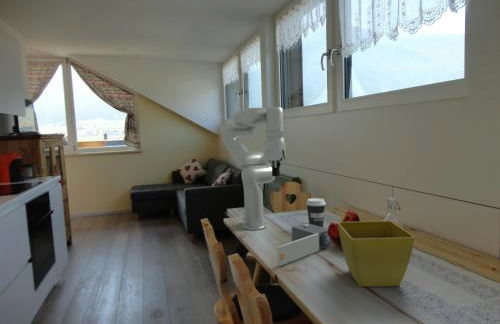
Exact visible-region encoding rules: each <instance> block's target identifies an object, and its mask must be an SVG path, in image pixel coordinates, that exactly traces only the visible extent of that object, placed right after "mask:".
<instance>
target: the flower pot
mask: <svg viewBox="0 0 500 324" xmlns="http://www.w3.org/2000/svg"><path fill="white" fill-rule="evenodd" d="M337 229H338V234H339V239H340V244H341V248H342V252H343V255H344V259H345V263H346V265H347V268H348V270H349V272H350V274H351V276H352V278H353V279H354V280H355V283H356V284H357V285H358V287H362V288H363V287H364V288H365V287H399V286H400V285H401V282H402V281H403V279H404V277H405V273H406V271H407V270H408V266H409V263H410V260H411V256H412V252H413V247H414V242H415V236H414V235H413V234H412V233H410V232H408V231H407V230H405V229H404V228H402V227H401V226H399V225H398V224H396V222H393V220H374V221H373V220H372V221H371V220H370V221H369V220H366V221H339V222H337Z"/></svg>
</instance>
